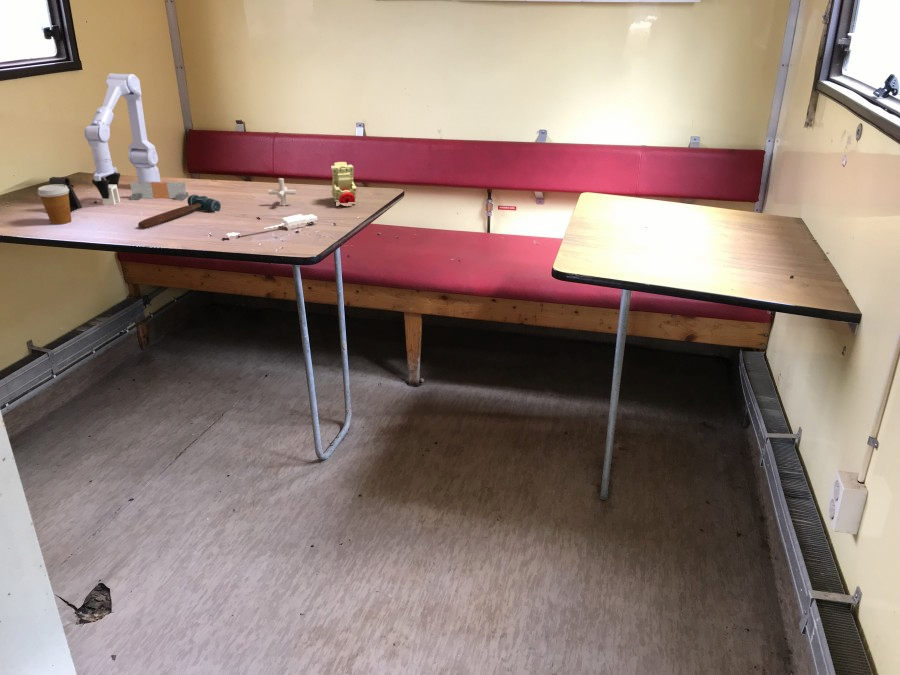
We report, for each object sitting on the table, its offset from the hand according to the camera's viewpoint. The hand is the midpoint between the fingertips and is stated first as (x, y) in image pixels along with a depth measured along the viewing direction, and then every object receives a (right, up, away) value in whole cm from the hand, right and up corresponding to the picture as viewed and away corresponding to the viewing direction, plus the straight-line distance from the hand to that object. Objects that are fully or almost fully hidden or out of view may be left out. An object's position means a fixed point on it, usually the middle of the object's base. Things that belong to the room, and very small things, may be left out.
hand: (110, 195), depth 255 cm
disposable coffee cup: (-7, -13, -20) cm, 25 cm away
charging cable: (+68, -18, -28) cm, 76 cm away
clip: (0, -3, +1) cm, 3 cm away
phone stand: (-12, -7, -8) cm, 16 cm away
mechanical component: (+88, -3, +2) cm, 88 cm away
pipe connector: (+65, -4, 0) cm, 65 cm away
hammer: (+31, -11, -15) cm, 36 cm away
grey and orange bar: (+15, +1, +9) cm, 17 cm away
